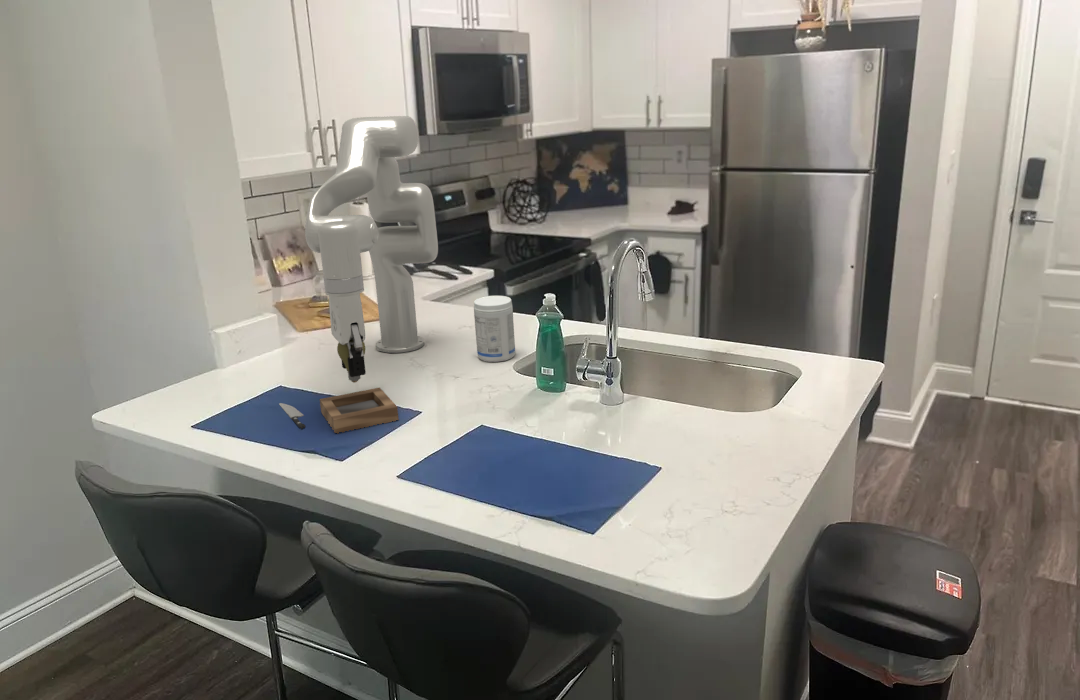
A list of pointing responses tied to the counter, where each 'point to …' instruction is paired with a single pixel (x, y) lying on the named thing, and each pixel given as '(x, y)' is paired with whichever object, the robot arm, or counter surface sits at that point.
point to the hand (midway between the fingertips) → (353, 370)
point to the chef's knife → (293, 414)
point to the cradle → (358, 410)
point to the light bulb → (344, 355)
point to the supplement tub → (494, 328)
